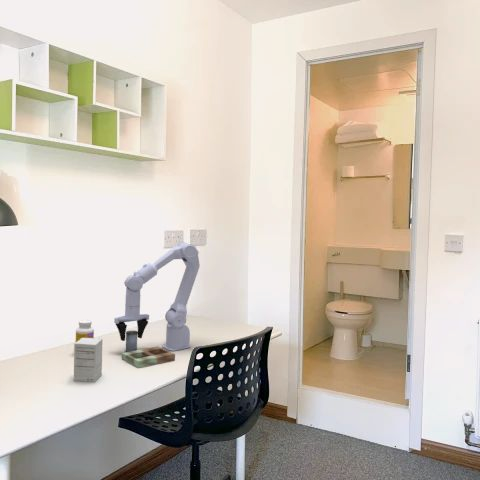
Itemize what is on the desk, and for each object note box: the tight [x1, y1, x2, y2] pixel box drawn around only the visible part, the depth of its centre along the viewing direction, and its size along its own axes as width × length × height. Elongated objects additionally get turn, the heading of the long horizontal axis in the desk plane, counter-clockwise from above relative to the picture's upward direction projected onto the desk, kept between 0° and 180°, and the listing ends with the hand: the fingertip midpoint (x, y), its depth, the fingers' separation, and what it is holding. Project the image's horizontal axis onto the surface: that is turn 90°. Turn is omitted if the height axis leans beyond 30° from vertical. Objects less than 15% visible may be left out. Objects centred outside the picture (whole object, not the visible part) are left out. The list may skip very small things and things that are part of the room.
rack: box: [121, 346, 176, 369], centre depth 181 cm, size 16×12×2 cm
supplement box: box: [73, 337, 103, 383], centre depth 159 cm, size 7×7×13 cm
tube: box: [125, 330, 138, 352], centre depth 190 cm, size 5×5×8 cm
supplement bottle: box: [75, 319, 95, 343], centre depth 184 cm, size 7×7×13 cm
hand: (131, 339), depth 190 cm, fingers open, 7 cm apart
